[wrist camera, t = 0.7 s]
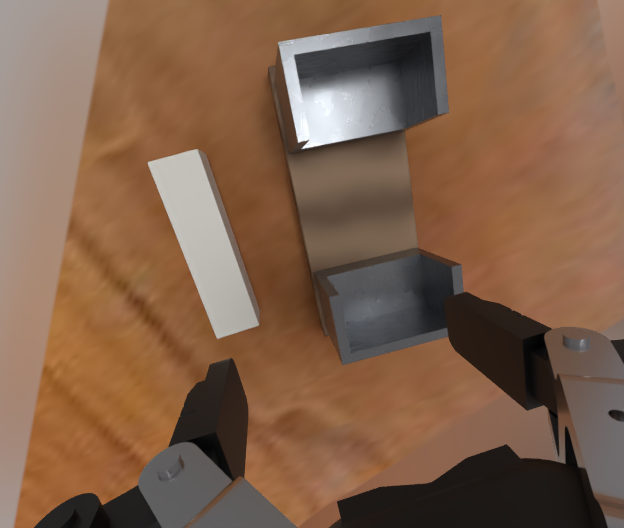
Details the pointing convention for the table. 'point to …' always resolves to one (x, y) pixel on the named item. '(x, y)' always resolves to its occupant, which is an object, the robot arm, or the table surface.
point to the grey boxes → (357, 126)
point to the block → (206, 240)
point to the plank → (351, 199)
